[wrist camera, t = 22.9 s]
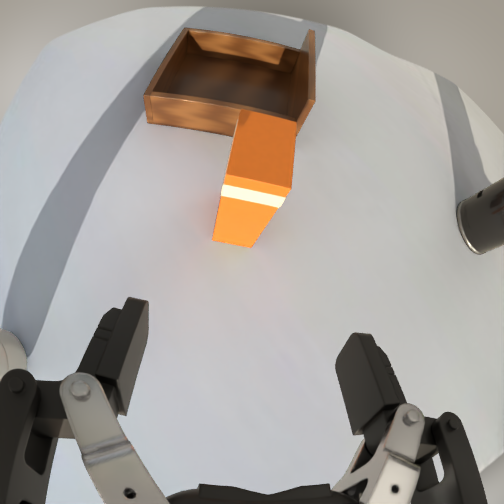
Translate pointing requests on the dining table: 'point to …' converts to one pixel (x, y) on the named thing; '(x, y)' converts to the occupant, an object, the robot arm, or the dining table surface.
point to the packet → (255, 177)
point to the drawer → (230, 81)
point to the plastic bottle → (11, 353)
